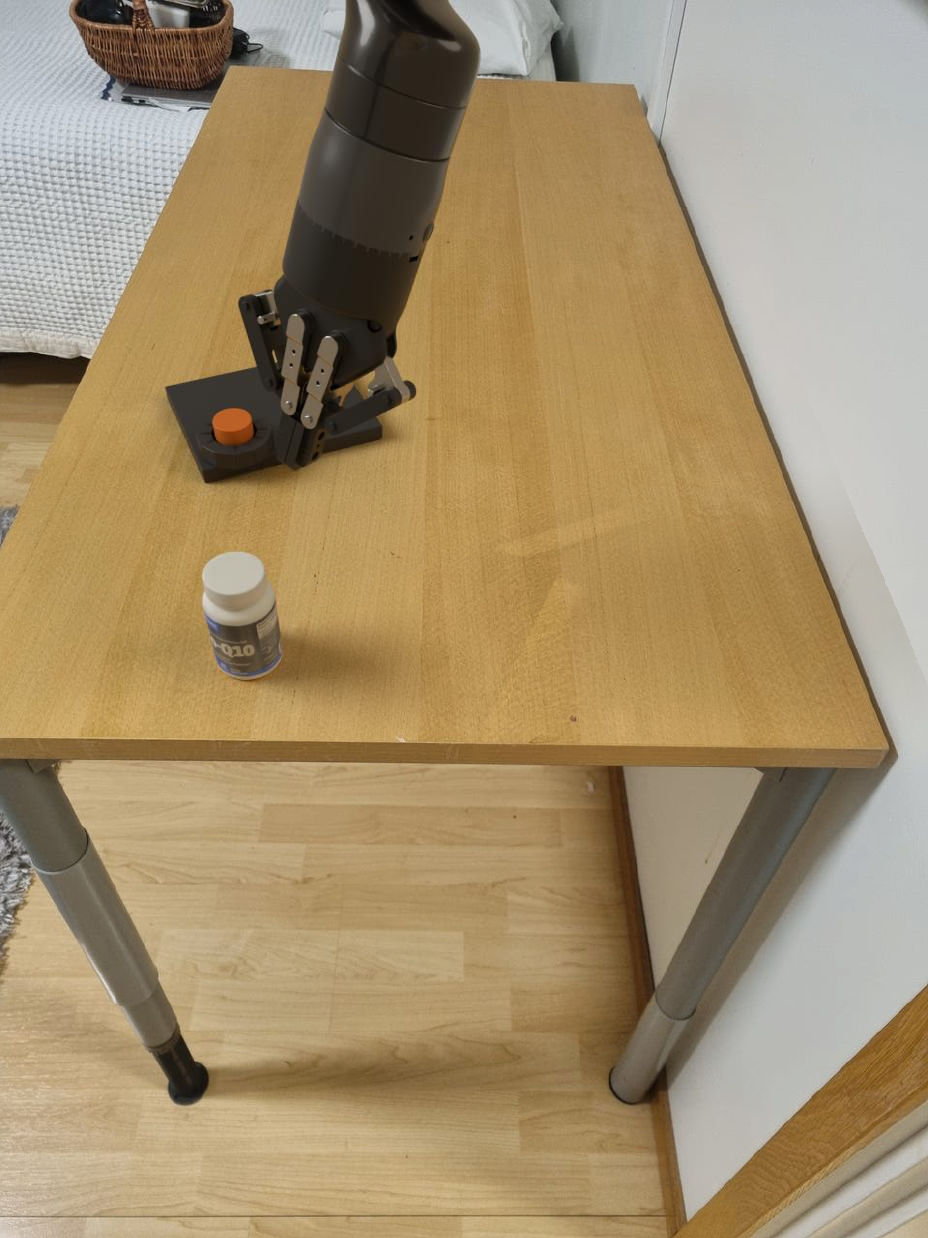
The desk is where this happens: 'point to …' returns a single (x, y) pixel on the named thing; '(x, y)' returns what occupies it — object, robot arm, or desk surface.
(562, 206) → the desk surface
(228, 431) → the button
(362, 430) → the black flat block
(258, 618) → the pill bottle
